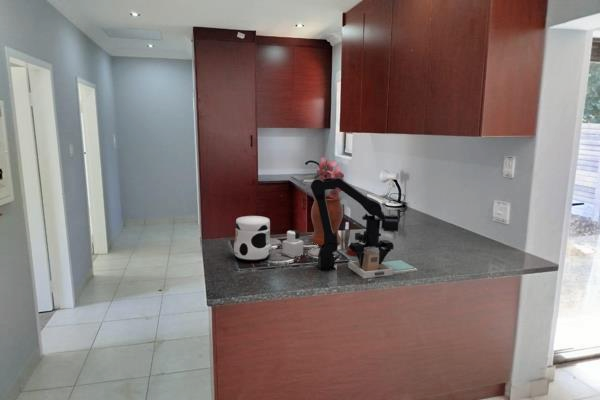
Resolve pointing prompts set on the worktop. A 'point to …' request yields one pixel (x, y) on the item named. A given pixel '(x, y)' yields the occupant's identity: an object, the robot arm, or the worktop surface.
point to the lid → (400, 266)
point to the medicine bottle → (293, 243)
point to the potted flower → (332, 203)
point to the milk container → (252, 238)
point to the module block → (370, 261)
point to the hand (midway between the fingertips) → (370, 265)
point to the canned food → (351, 250)
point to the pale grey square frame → (368, 274)
